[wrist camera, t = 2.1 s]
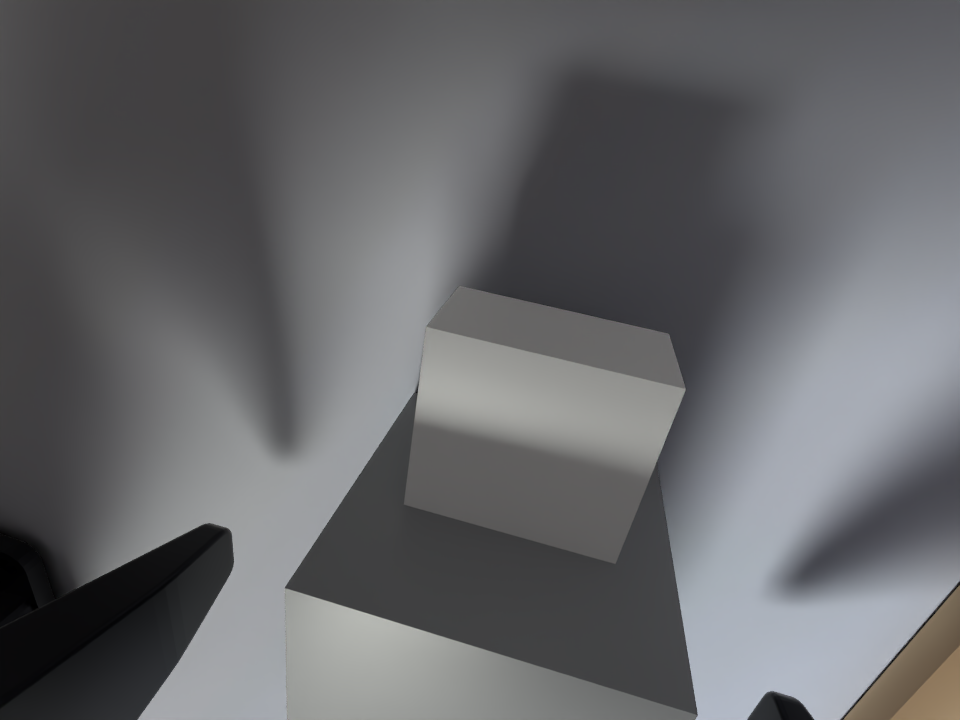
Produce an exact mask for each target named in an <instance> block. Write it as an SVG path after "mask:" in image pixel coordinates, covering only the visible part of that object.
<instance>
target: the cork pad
mask: <svg viewBox="0 0 960 720" xmlns="http://www.w3.org/2000/svg"><path fill="white" fill-rule="evenodd" d="M843 720H960V585H959V586H958V588H957V589H956V590H955V591H954V592H953V593H952V594H951V596H950V597H949V598H948V599H947V600H946V601H945V603H944V604H943V605H942V606H941V607H940V608H939V609H938V611H937V612H936V613H935V614H934V615H933V616H932V618H931V619H930V620H929V621H928V622H927V623H926V624H925V626H924V627H923V628H922V629H921V630H920V631H919V633H918V634H917V635H916V636H915V637H914V638H913V639H912V641H911V642H910V643H909V644H908V645H907V646H906V648H905V649H904V650H903V651H902V652H901V653H900V654H899V656H898V657H897V658H896V659H895V660H894V661H893V663H892V664H891V665H890V666H889V667H888V668H887V670H886V671H885V672H884V673H883V674H882V675H881V676H880V678H879V679H878V680H877V681H876V682H875V683H874V685H873V686H872V687H871V688H870V689H869V690H868V691H867V693H866V694H865V695H864V696H863V697H862V698H861V700H860V701H859V702H858V703H857V704H856V705H855V706H854V708H853V709H852V710H851V711H850V712H849V713H848V715H847V716H846V717H845V718H844V719H843Z"/></svg>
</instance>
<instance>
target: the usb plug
mask: <svg viewBox="0 0 960 720" xmlns="http://www.w3.org/2000/svg"><path fill="white" fill-rule="evenodd" d="M685 391H686V387H685V384H684V381H683V378H682V375H681V371H680V368H679V365H678V362H677V359H676V355H675V352H674V349H673V346H672V342H671V339H670V336H669V334H668V333H663V332H659V331H655V330H650V329H646V328H642V327H637V326H633V325H628V324H624V323H620V322H615V321H611V320H607V319H602V318H598V317H594V316H589V315H585V314H580V313H576V312H572V311H567V310H563V309H559V308H554V307H550V306H545V305H541V304H537V303H532V302H528V301H524V300H519V299H515V298H510V297H506V296H502V295H497V294H493V293H489V292H484V291H480V290H475V289H471V288H467V287H462V286H459V287H458V288H457V289H456V291H455V292H454V293H453V294H452V295H451V297H450V298H449V299H448V300H447V302H446V303H445V304H444V305H443V307H442V308H441V309H440V310H439V311H438V313H437V314H436V315H435V316H434V318H433V319H432V320H431V321H430V323H429V324H428V325H427V326H426V331H425V339H424V347H423V355H422V363H421V371H420V379H419V387H418V394H417V393H414V394H413V395H412V397H411V398H410V400H409V401H408V403H407V404H406V406H405V407H404V409H403V410H402V412H401V413H400V415H399V416H398V418H397V419H396V421H395V422H394V424H393V425H392V427H391V428H390V430H389V431H388V433H387V434H386V436H385V437H384V439H383V440H382V442H381V443H380V445H379V446H378V448H377V449H376V451H375V452H374V454H373V456H372V457H371V459H370V460H369V462H368V463H367V465H366V466H365V468H364V469H363V471H362V472H361V474H360V475H359V477H358V478H357V480H356V481H355V483H354V484H353V486H352V487H351V489H350V490H349V492H348V493H347V495H346V496H345V498H344V499H343V501H342V502H341V504H340V505H339V507H338V508H337V510H336V511H335V513H334V514H333V516H332V517H331V519H330V520H329V522H328V523H327V525H326V526H325V528H324V529H323V531H322V533H321V534H320V536H319V537H318V539H317V540H316V542H315V543H314V545H313V546H312V548H311V549H310V551H309V552H308V554H307V555H306V557H305V558H304V560H303V561H302V563H301V564H300V566H299V567H298V569H297V570H296V572H295V573H294V575H293V576H292V578H291V579H290V581H289V582H288V584H287V585H286V587H285V633H286V692H287V720H695V719H696V717H697V716H698V714H697V708H696V702H695V696H694V689H693V683H692V677H691V671H690V665H689V659H688V652H687V646H686V640H685V634H684V628H683V622H682V615H681V609H680V603H679V597H678V591H677V585H676V578H675V572H674V566H673V560H672V554H671V548H670V541H669V535H668V529H667V523H666V517H665V511H664V504H663V498H662V492H661V486H660V480H659V474H658V467H657V460H658V457H659V455H660V452H661V450H662V448H663V445H664V443H665V440H666V438H667V435H668V433H669V430H670V428H671V425H672V423H673V420H674V418H675V415H676V413H677V410H678V408H679V405H680V403H681V401H682V398H683V396H684V393H685Z"/></svg>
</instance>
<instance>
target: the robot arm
mask: <svg viewBox="0 0 960 720" xmlns="http://www.w3.org/2000/svg"><path fill="white" fill-rule="evenodd" d="M233 564H234V555H233V543H232V533H231V531H230V530H229V529H228V528H225V527H222V526H219V525H215V524H211V523H208V524H204V525H201V526H199V527H197V528H195V529H193V530H191V531H189V532H187V533H185V534H183V535H181V536H179V537H177V538H176V539H174V540H172V541H170V542H168V543H166V544H164V545H162V546H160V547H158V548H156V549H154V550H152V551H150V552H148V553H146V554H144V555H142V556H140V557H138V558H136V559H134V560H132V561H130V562H128V563H126V564H124V565H122V566H120V567H119V568H117V569H115V570H113V571H111V572H109V573H107V574H105V575H103V576H101V577H99V578H97V579H95V580H93V581H91V582H89V583H87V584H85V585H83V586H81V587H79V588H77V589H75V590H73V591H71V592H69V593H67V594H65V595H63V596H61V597H60V598H58V599H56V600H55V598H54V595H53V592H52V589H51V586H50V583H49V580H48V577H47V574H46V571H45V568H44V564H43V561H42V559H41V557H40V555H39V554H38V553H37V551H36V550H35V549H34V548H33V547H31V546H30V545H28V544H27V543H25V542H23V541H21V540H18V539H15V538H12V537H9V536H5V535H2V534H0V720H137V719H138V718H139V717H140V715H141V714H142V712H143V711H144V710H145V708H146V707H147V705H148V704H149V703H150V701H151V700H152V698H153V697H154V696H155V694H156V693H157V692H158V690H159V689H160V687H161V686H162V685H163V683H164V682H165V680H166V679H167V678H168V676H169V675H170V673H171V672H172V670H173V669H174V668H175V666H176V665H177V663H178V662H179V660H180V658H181V657H182V655H183V654H184V652H185V650H186V649H187V647H188V645H189V644H190V642H191V640H192V639H193V637H194V635H195V634H196V632H197V630H198V628H199V627H200V625H201V623H202V622H203V620H204V618H205V616H206V615H207V613H208V611H209V610H210V608H211V606H212V605H213V603H214V601H215V599H216V598H217V596H218V594H219V593H220V591H221V589H222V588H223V586H224V584H225V582H226V581H227V579H228V577H229V575H230V573H231V571H232V568H233ZM748 720H814V719H813V717H812V716H811V715H810V713H809V712H808V710H807V709H806V708H805V707H804V705H803V704H802V703H801V702H800V701H799V700H797V699H796V698H794V697H791V696H787V695H784V694H781V693H777V692H774V691H770V692H767V693H766V694H765V695H764V696H763V698H762V699H761V701H760V702H759V703H758V705H757V706H756V708H755V709H754V710H753V712H752V713H751V715H750V716H749V717H748Z"/></svg>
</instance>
